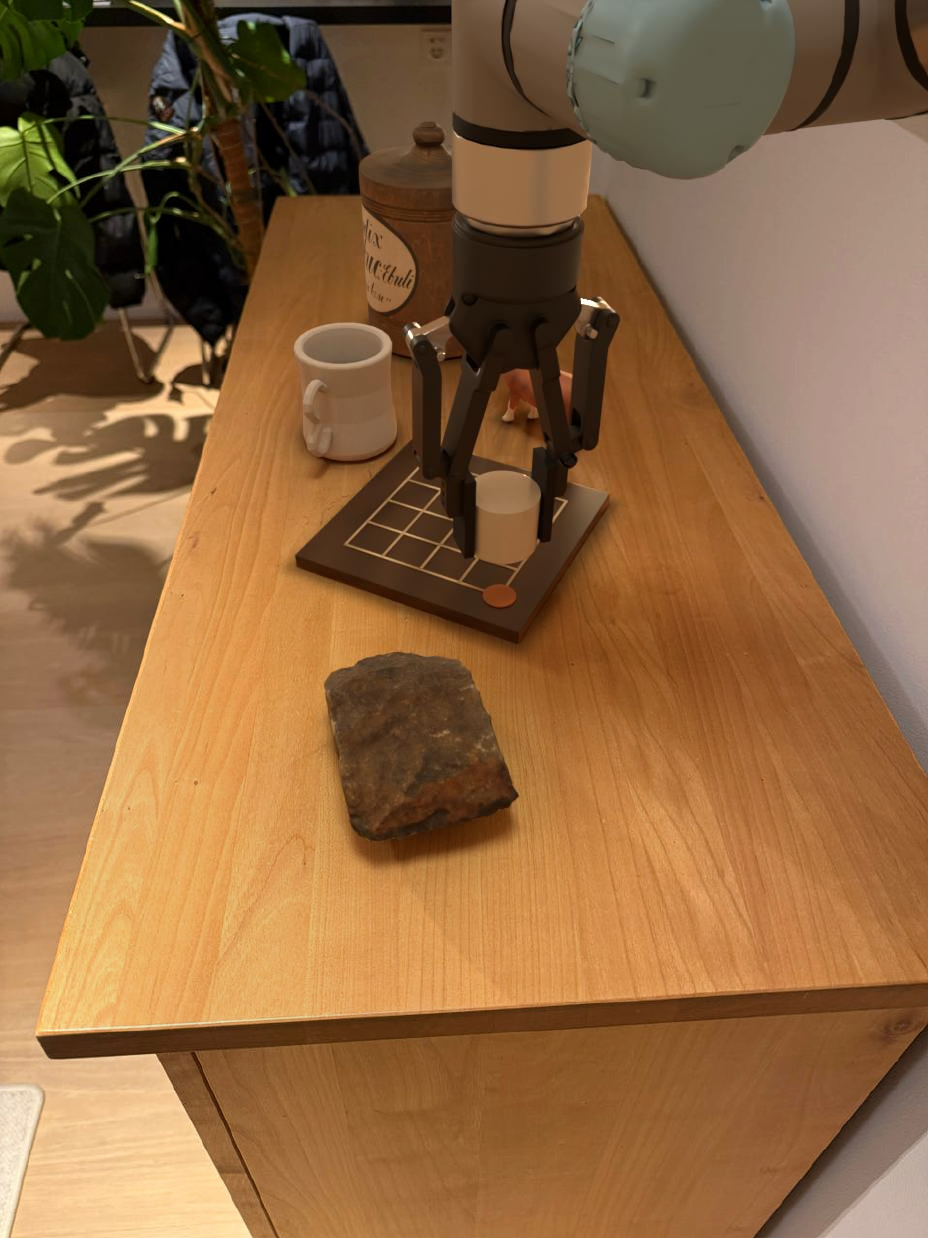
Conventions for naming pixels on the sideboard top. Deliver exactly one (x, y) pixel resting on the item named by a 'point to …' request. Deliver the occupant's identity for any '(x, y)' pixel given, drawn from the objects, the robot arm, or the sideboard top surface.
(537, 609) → the grid board
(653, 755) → the sideboard top surface
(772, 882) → the sideboard top surface
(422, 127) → the wooden container
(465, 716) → the stone
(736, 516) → the sideboard top surface
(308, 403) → the mug
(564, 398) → the bull figurine
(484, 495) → the white short cylinder
